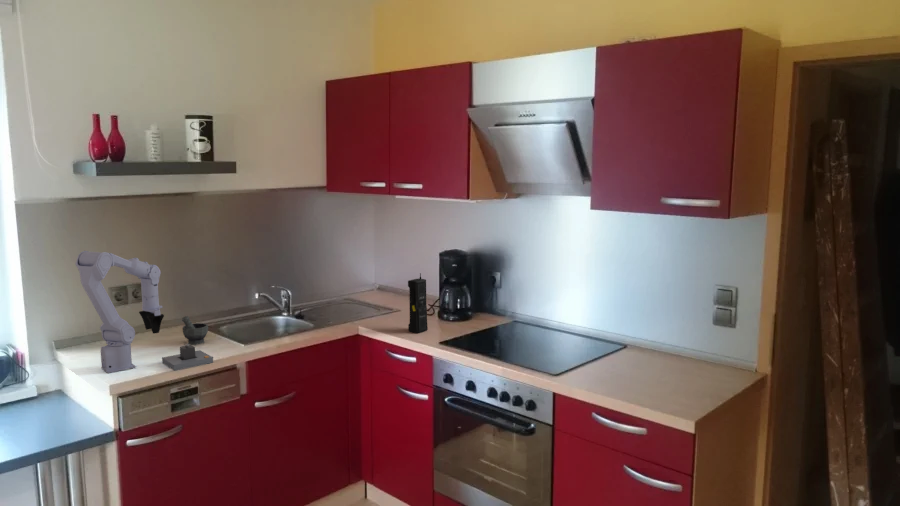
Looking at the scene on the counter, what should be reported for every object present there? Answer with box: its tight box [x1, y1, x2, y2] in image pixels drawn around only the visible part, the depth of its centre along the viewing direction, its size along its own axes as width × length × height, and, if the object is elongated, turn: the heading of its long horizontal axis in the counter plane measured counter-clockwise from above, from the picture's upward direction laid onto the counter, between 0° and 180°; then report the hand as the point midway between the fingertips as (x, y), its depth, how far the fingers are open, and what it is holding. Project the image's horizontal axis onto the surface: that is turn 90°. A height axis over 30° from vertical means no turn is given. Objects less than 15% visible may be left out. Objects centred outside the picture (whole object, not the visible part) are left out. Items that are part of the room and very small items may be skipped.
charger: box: [179, 343, 196, 360], centre depth 241 cm, size 4×4×7 cm
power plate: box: [161, 349, 214, 371], centre depth 241 cm, size 14×12×2 cm
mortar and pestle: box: [181, 315, 209, 346], centre depth 266 cm, size 11×9×12 cm
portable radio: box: [407, 273, 429, 334], centre depth 284 cm, size 8×6×25 cm
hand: (152, 331), depth 249 cm, fingers open, 7 cm apart
